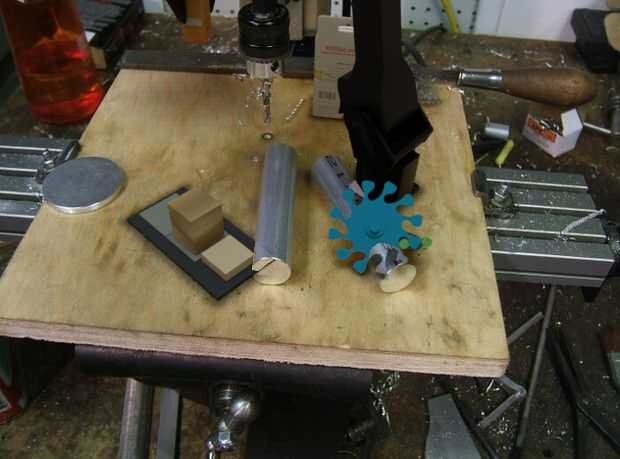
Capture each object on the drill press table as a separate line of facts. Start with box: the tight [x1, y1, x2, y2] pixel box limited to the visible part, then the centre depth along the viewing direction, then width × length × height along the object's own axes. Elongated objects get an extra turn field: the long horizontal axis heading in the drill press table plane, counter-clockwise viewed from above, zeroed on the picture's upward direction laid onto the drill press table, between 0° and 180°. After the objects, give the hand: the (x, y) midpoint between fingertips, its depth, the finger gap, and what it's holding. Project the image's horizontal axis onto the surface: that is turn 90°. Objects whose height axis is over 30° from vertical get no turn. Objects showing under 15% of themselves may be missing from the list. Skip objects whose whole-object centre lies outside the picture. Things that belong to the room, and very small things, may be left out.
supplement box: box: [181, 0, 213, 44], centre depth 73 cm, size 3×4×10 cm
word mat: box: [126, 186, 259, 301], centre depth 61 cm, size 16×8×2 cm, turn 46°
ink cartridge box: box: [312, 14, 355, 120], centre depth 76 cm, size 9×5×15 cm, turn 83°
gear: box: [327, 181, 433, 274], centre depth 61 cm, size 11×6×10 cm
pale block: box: [167, 185, 225, 255], centre depth 60 cm, size 4×4×5 cm
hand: (196, 17), depth 75 cm, fingers closed on supplement box, 4 cm apart
